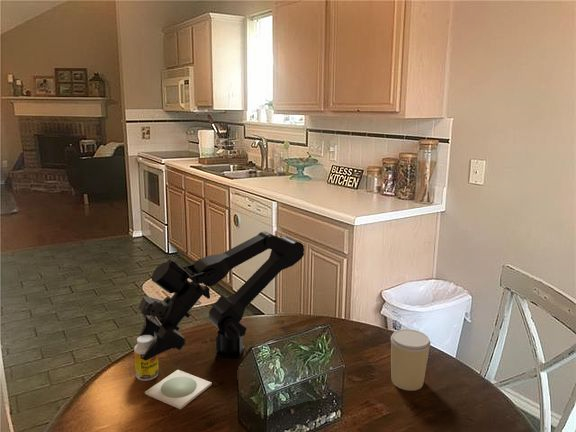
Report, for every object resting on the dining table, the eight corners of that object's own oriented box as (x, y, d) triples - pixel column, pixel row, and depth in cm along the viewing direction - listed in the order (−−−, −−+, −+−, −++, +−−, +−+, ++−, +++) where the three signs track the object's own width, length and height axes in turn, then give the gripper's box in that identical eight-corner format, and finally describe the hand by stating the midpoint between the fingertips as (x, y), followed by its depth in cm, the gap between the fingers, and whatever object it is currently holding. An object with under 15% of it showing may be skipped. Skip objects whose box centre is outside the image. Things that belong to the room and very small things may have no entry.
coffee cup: (429, 376, 119) (433, 333, 116) (423, 396, 111) (427, 350, 108) (392, 367, 123) (395, 325, 120) (383, 386, 115) (386, 341, 112)
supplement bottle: (139, 384, 115) (137, 346, 112) (133, 373, 119) (130, 336, 117) (162, 377, 118) (160, 340, 115) (155, 367, 122) (152, 330, 120)
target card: (177, 371, 120) (177, 369, 120) (211, 384, 115) (211, 382, 115) (145, 394, 111) (144, 391, 111) (180, 409, 105) (180, 406, 105)
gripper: (148, 273, 122) (106, 321, 120) (169, 299, 107) (123, 355, 104) (178, 295, 128) (140, 342, 125) (203, 323, 113) (160, 377, 110)
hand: (140, 353), depth 116 cm, fingers open, 7 cm apart
